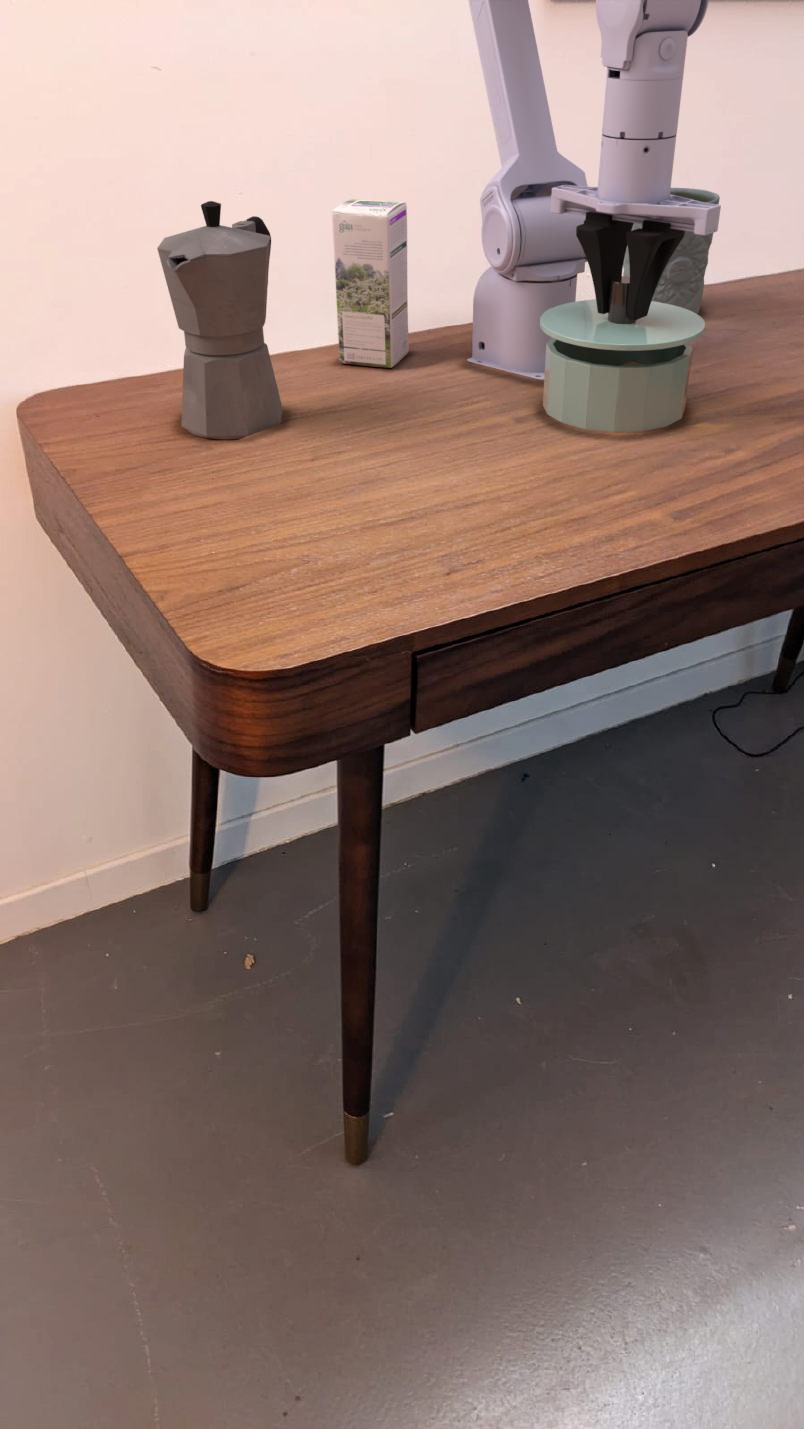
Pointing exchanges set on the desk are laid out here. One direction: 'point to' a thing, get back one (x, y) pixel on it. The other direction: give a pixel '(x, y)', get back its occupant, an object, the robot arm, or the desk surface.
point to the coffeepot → (223, 325)
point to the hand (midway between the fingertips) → (622, 314)
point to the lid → (621, 323)
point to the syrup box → (371, 281)
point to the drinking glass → (683, 261)
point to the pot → (615, 386)
